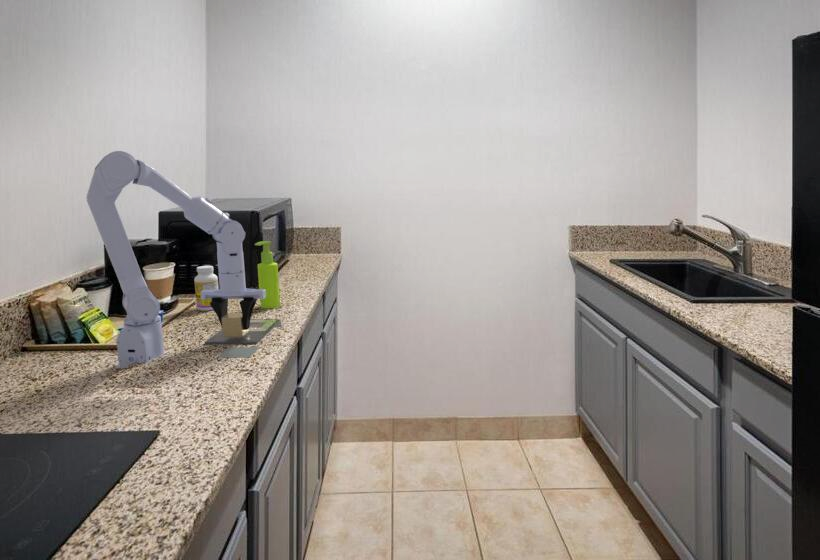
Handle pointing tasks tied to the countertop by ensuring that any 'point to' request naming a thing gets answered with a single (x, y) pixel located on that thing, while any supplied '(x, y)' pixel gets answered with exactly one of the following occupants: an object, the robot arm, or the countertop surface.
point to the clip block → (233, 325)
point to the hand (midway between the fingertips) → (236, 329)
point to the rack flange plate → (248, 333)
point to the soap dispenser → (268, 277)
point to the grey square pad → (238, 352)
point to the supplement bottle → (205, 286)
